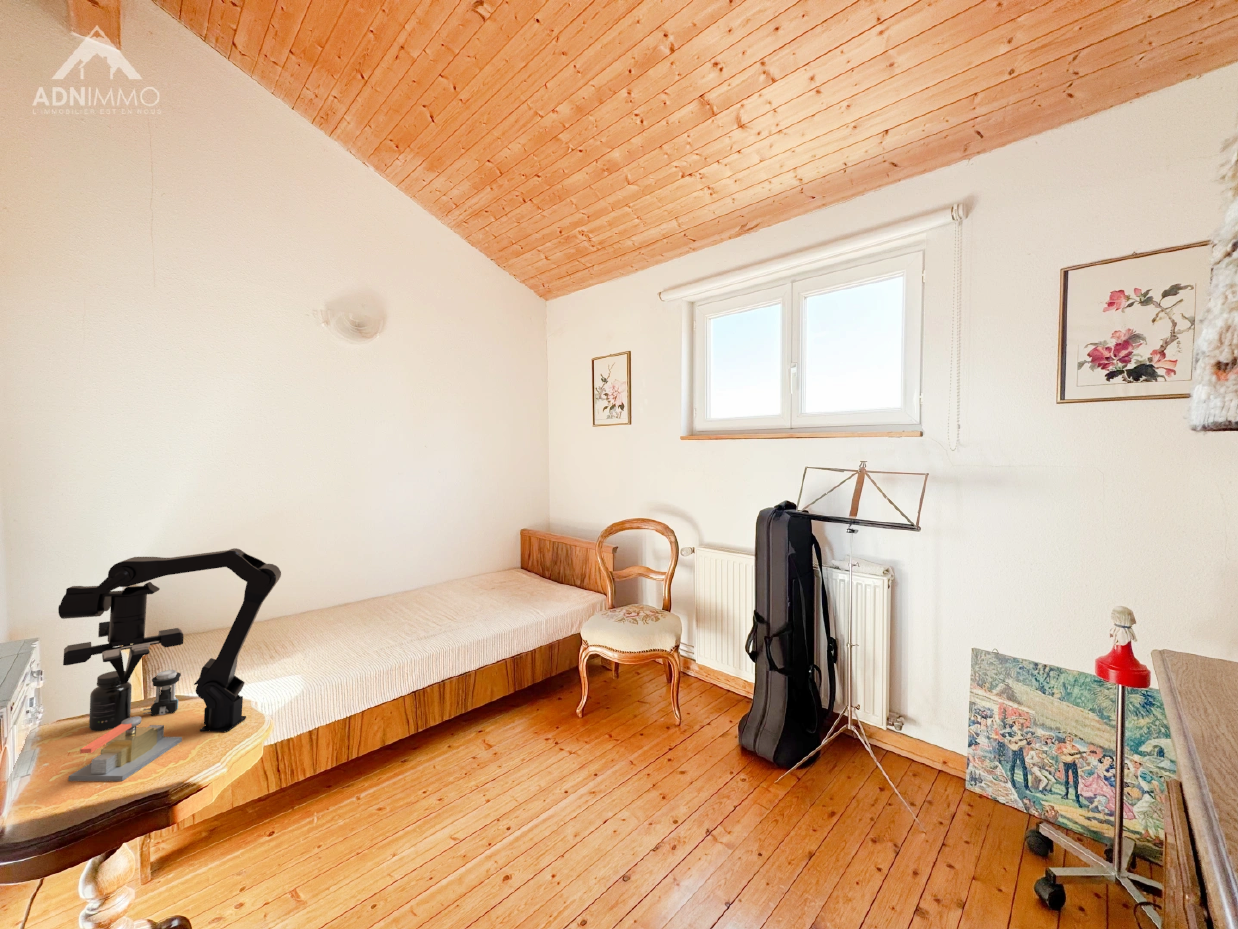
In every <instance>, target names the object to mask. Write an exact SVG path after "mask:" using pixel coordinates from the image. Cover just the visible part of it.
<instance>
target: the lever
mask: <svg viewBox="0 0 1238 929" xmlns="http://www.w3.org/2000/svg"><path fill="white" fill-rule="evenodd" d="M141 724H142V716H137V715H136V716H130V718H127V719H125V720H123V721H122V722H121V724H120V725H119V726H117V727H116V728H113V729H110V730H108V732H106V733H105V734H102V735H100V736H99V737H97V738H96V739H94V740H92V741H91V742H90V743H88V744H87V745H85V746H84V747H82V748H80V750H79V751H80V752H79V754H92V753H93V752H95V751H96V750H98V749H99V748H101V747H103V746H104V745H106V743H107V742H109V741H110V740H112V739H114V738H115V737H117V736H118V735H120V734H121V733H123V732H125V731H126V730H128V729H129V728H132V727H135V726H136V727H137V726H139V725H141Z"/></svg>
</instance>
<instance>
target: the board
mask: <svg viewBox="0 0 1238 929" xmlns="http://www.w3.org/2000/svg"><path fill="white" fill-rule="evenodd" d="M182 742H183V737H182V736H164V738H162V739H160V740H159V741H157V744H156V745H155V746H153V748H152V749H151V750H149V751H148V752H146V753H144V754H143V755H141V756H140V757H138V758H137V759H135V760H133V761H132V762H128V763H126V764H125V765H123V766H121V767H116V768H114V769H113V770H111V771H110V772H108V773H106V774H91V763H92V762H90V763H89V764H87V765H84V766H83V767H82V768H79V769H78V770H76V771H75V772H73V773H71V774H69V775H68V782H122V781H125V780H126V779H127V778H129V777H131V776H132V775H134V774H135V773H136V772H138V771H140V770H141V769H143V768H144V767H146V766H147V765H149V764H150V763H151V762H154V761H155V760H156V759H158V758H159V757H160V756H162V755H163V754H165V753H167V752H168V751H170V750H171V749H173V748H174V747H175V746H177V745H179V744H181V743H182Z"/></svg>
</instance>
